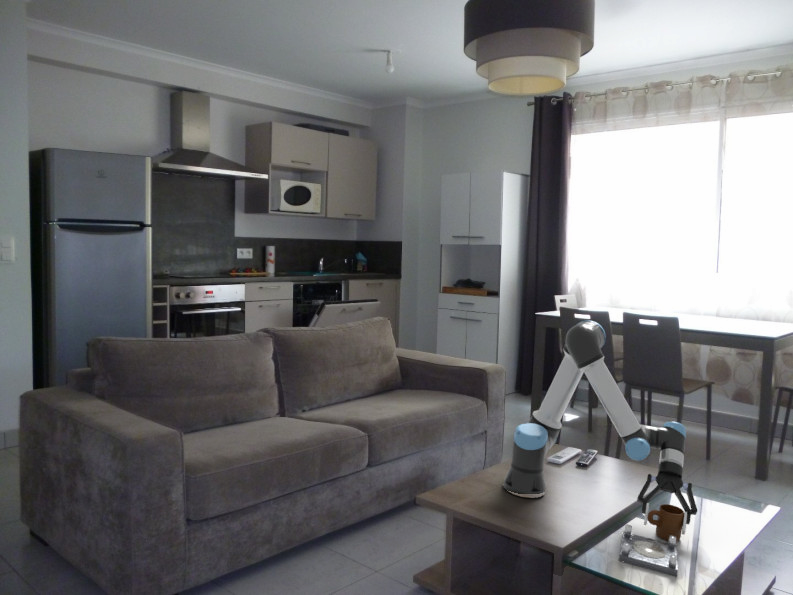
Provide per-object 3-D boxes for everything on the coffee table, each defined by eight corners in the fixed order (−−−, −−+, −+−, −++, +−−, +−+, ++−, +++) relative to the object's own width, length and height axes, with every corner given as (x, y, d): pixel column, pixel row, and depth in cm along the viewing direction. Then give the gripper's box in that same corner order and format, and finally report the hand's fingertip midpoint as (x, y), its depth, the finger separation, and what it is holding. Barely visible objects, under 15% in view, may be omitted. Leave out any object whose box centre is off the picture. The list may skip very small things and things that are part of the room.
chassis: (618, 560, 195) (621, 545, 194) (621, 537, 209) (624, 522, 209) (676, 576, 189) (679, 560, 188) (675, 551, 204) (678, 536, 203)
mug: (651, 542, 208) (655, 515, 206) (638, 530, 215) (642, 503, 214) (685, 542, 210) (689, 514, 209) (671, 530, 217) (675, 503, 216)
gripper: (706, 478, 220) (702, 542, 208) (633, 462, 228) (625, 523, 216) (710, 468, 214) (705, 533, 202) (635, 453, 223) (626, 514, 211)
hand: (664, 528), depth 209 cm, fingers closed on mug, 11 cm apart
